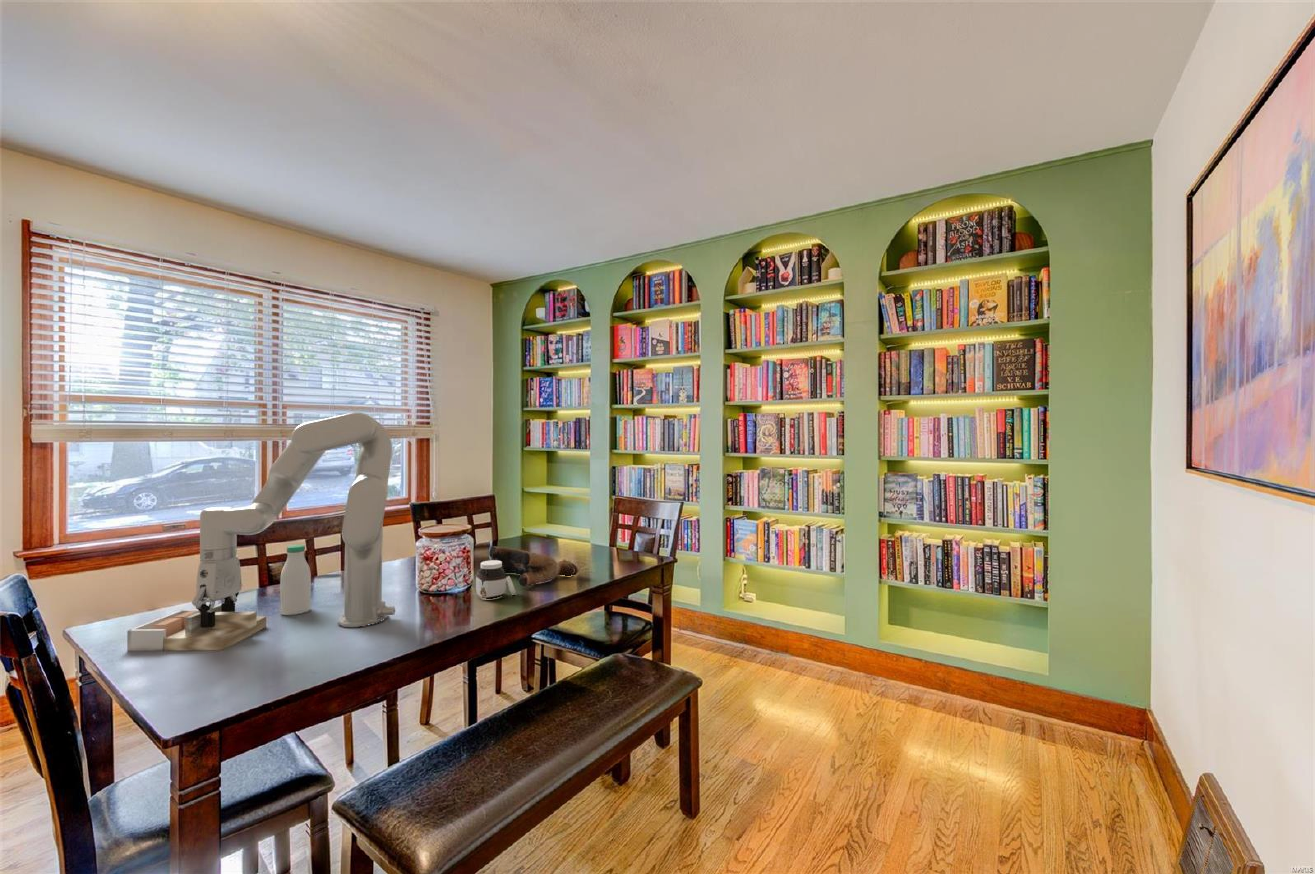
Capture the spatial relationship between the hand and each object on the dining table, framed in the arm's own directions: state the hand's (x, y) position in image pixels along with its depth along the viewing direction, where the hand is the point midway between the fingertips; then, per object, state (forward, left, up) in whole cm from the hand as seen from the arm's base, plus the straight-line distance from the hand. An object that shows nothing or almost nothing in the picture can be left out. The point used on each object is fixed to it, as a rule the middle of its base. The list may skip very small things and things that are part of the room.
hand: (218, 621), depth 142 cm
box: (+12, 0, -4) cm, 12 cm away
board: (0, 0, -4) cm, 4 cm away
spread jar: (-64, -35, -5) cm, 73 cm away
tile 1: (+9, +3, -1) cm, 10 cm away
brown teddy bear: (-71, -59, -5) cm, 93 cm away
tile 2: (+9, -3, -1) cm, 10 cm away
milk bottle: (-7, -21, -5) cm, 23 cm away
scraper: (-3, 0, -1) cm, 4 cm away
